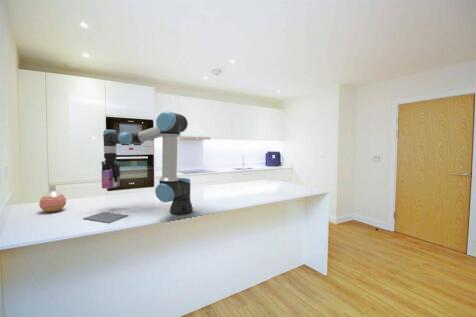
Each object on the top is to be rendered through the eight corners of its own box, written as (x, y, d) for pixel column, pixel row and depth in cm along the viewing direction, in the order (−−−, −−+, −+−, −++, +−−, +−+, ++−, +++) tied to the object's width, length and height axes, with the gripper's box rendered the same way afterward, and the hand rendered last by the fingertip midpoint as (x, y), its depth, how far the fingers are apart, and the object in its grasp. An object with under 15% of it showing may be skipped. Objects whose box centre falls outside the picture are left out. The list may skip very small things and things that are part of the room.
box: (109, 188, 149) (108, 170, 148) (101, 188, 150) (101, 170, 149) (120, 186, 159) (119, 169, 158) (113, 185, 160) (112, 169, 159)
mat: (127, 216, 142) (127, 215, 142) (109, 223, 129) (109, 222, 129) (103, 212, 148) (103, 211, 148) (83, 219, 135) (83, 218, 135)
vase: (56, 214, 143) (55, 186, 142) (33, 214, 142) (32, 186, 141) (71, 208, 157) (70, 183, 156) (50, 208, 156) (49, 183, 155)
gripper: (125, 152, 154) (126, 186, 155) (104, 152, 159) (105, 184, 161) (116, 153, 146) (117, 188, 148) (94, 152, 152) (95, 186, 154)
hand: (111, 186), depth 154 cm, fingers closed on box, 6 cm apart
